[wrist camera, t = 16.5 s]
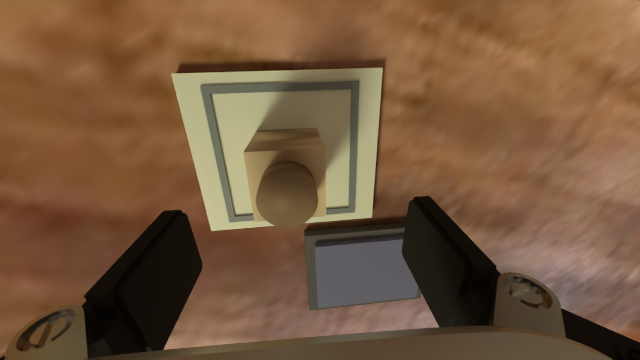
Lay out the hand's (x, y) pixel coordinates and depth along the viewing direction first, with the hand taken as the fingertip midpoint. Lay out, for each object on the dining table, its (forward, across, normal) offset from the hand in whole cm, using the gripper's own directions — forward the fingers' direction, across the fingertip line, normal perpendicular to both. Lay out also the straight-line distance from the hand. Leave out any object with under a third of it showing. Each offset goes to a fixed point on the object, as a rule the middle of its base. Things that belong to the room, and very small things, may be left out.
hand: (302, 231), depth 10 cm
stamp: (+12, +1, +1) cm, 12 cm away
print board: (+13, +1, +1) cm, 13 cm away
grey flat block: (+12, -7, +15) cm, 21 cm away
